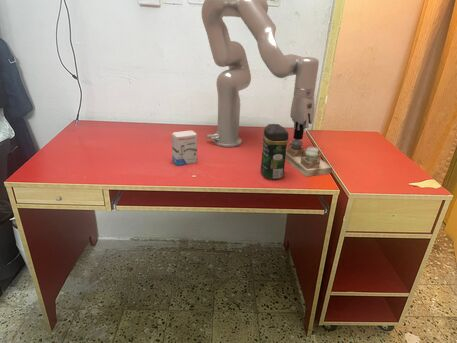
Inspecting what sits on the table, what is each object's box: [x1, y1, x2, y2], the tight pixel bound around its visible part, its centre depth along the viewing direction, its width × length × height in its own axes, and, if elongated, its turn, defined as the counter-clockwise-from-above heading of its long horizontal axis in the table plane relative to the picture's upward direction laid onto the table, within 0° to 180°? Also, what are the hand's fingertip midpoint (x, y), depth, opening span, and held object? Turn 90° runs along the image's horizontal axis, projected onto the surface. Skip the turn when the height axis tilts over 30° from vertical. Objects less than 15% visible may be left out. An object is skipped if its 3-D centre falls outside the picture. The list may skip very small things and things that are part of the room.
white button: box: [306, 146, 319, 153], centre depth 133 cm, size 4×4×4 cm
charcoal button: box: [290, 139, 304, 151], centre depth 136 cm, size 4×4×4 cm
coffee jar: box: [260, 123, 289, 180], centre depth 122 cm, size 10×8×19 cm
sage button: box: [305, 150, 319, 162], centre depth 127 cm, size 4×4×4 cm
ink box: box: [171, 130, 198, 166], centre depth 130 cm, size 9×5×12 cm, turn 117°
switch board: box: [285, 145, 333, 178], centre depth 134 cm, size 11×18×5 cm, turn 19°
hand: (297, 138), depth 135 cm, fingers closed
